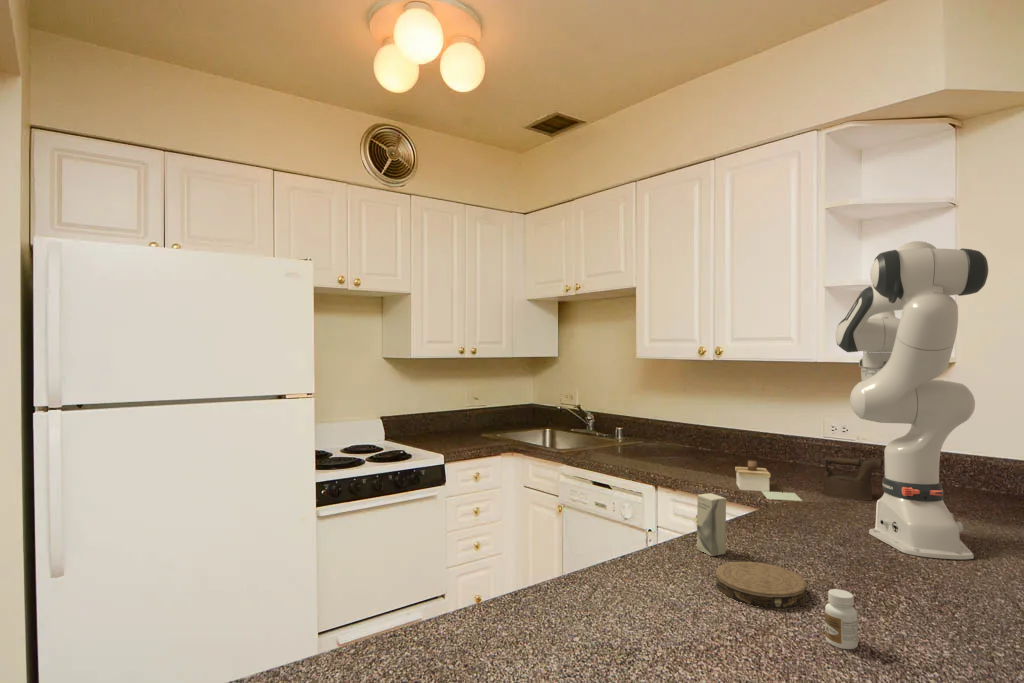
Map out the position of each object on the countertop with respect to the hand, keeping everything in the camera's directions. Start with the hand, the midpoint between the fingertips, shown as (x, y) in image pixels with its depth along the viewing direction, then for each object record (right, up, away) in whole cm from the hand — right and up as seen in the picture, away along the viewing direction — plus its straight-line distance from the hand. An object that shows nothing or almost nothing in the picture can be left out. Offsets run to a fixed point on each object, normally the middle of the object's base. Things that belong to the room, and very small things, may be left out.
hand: (880, 407), depth 172 cm
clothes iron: (-5, -30, +7) cm, 31 cm away
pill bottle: (-60, -28, -83) cm, 106 cm away
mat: (-27, -29, +7) cm, 40 cm away
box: (-66, -29, -42) cm, 84 cm away
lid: (-31, -25, +19) cm, 44 cm away
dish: (-31, -30, +19) cm, 47 cm away
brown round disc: (-65, -28, -64) cm, 95 cm away
